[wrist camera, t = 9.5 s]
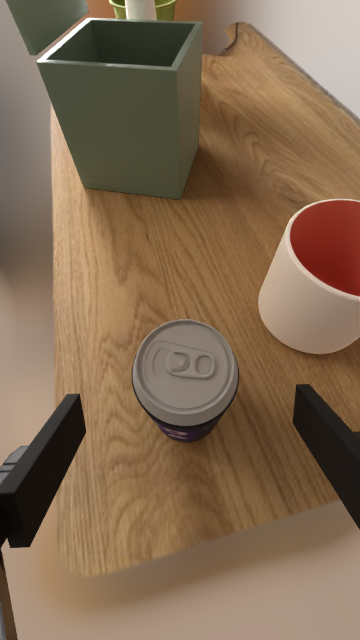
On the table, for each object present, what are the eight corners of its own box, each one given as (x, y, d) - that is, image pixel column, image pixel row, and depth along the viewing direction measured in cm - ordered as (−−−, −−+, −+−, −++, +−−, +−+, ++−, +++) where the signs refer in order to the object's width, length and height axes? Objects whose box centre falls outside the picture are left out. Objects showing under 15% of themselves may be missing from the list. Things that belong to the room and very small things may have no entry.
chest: (198, 146, 43) (203, 21, 31) (180, 199, 37) (176, 70, 25) (114, 137, 45) (87, 17, 33) (83, 187, 39) (35, 61, 27)
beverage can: (159, 373, 25) (138, 308, 14) (219, 379, 24) (243, 316, 14) (149, 439, 22) (114, 417, 12) (217, 447, 22) (244, 431, 11)
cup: (356, 288, 29) (430, 212, 20) (351, 372, 24) (443, 322, 16) (265, 266, 31) (296, 187, 22) (245, 340, 26) (274, 278, 18)
